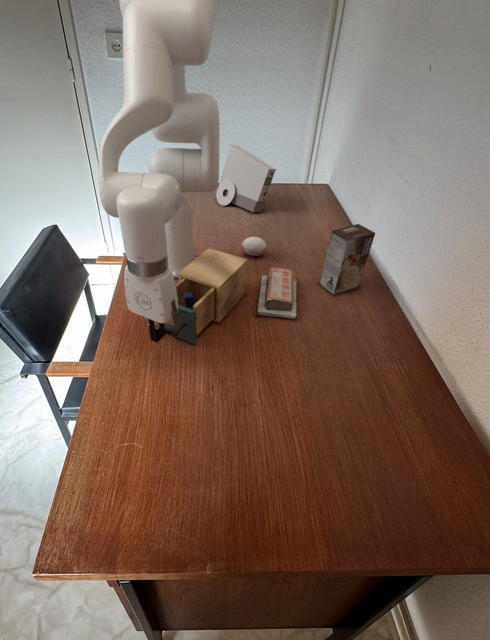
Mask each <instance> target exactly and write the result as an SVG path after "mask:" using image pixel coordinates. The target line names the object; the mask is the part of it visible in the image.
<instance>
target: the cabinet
mask: <svg viewBox="0 0 490 640" xmlns="http://www.w3.org/2000/svg"><path fill="white" fill-rule="evenodd" d="M195 258H196V259H195V260H193V261H192V262H191V263H190V264H189V265H187V266H186V267H185V268H184V269H182V270H181V271H180V272H179V273H178V278H177V279H178V280H177V281H178V282H179V281H180V280H182V279H183V278H186V279H189V280H192V281H195V282H198V283H201V284H204V285H207V286H211V287H214V288H217V297H216V316H215V317H214V318H213V319H212V320H211V321H212V322H216V323H218V324H219V323H220V322H221V321H222V320H224V318H225V317H226V316H227V315H228V314H229V312H230V311H231V310H232V309H233V308H234V307H235V306H236V305H237V303H238V302H240V301H241V299H242V298H243V297H244V296H245V294H246V284H247V283H246V281H247V270H248V269H247V268H248V258H244V257H240V256H238V255H235V254H230V253H226V252H223V251H220V250H217V249H213V248H207V249H206V250H204V251H203V252H202V253H201V254H200V255H198V256H197V257H195Z"/></svg>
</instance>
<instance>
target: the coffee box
mask: <svg viewBox="0 0 490 640" xmlns="http://www.w3.org/2000/svg"><path fill="white" fill-rule="evenodd" d="M331 231H332V232H331V236H330V240H329V243H328V244H329V245H328V248H327V253H326V256H325V261H324V265H323V266H324V267H323V270H322V273H321V278H320V283H319V284H320V285H321V286H322V287H323V288H325V289H326V290H327V291H328V292H330V293H331V294H332V295H337V294H340V293H343V292H347V291H349V290H352V289H355V288H358V287H359V286H360V283H361V279H362V276H363V273H364V270H365V268H366V267H365V266H366V264H367V261H368V257H369V255H370V252H371V248H372V245H373V242H374V239H375V235H376V232H374V231H373V230H371V229H370V228H368V227H366V226H364V225H361V224H360V223H357V224H352V225H348V226H345V227H340V228H337V229H333V230H331Z"/></svg>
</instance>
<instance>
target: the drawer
mask: <svg viewBox="0 0 490 640" xmlns="http://www.w3.org/2000/svg"><path fill="white" fill-rule="evenodd" d="M175 286H176V291H177V298H178V313H176V316H177V320H178V322H177V323H176V324H175V325H169V324H165V325H164V329H165V335H168V336H170V337H173V338H176V339H177V338H178V339H181V340H183V341H185V342H188V343H190V344H194V345H195V344H196V343H197V336H198V335H199V334H201V332H202V331H203V330H204V329H205V328H206V327H207V326H208V325H209V324H210V323H211V322H212V321H213V320H212V319H213V318H214V317H215V316H216V297H217V288H214V287H211V286H207V285H204V284H201V283H198V282H195V281H192V280H189V279H186V278H183V279H182V280H180V281H179V280H178V282H177V283H175ZM185 293H193V297H194V306H193V310H192V309H189V308H187V307H185V302H184V294H185Z"/></svg>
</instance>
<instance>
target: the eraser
mask: <svg viewBox="0 0 490 640" xmlns="http://www.w3.org/2000/svg"><path fill="white" fill-rule="evenodd" d="M184 302H185V307H187V308H189V309H192V310H193V306H194V297H193V293H185V294H184Z"/></svg>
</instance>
